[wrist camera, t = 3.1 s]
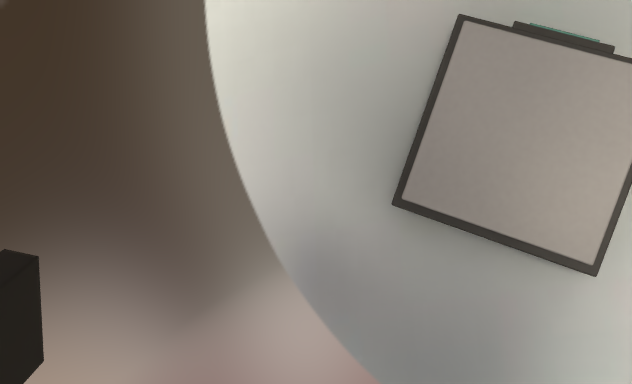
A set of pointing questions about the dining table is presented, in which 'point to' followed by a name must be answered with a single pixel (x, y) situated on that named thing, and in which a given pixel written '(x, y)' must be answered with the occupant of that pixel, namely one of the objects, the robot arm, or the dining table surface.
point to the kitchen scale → (525, 141)
